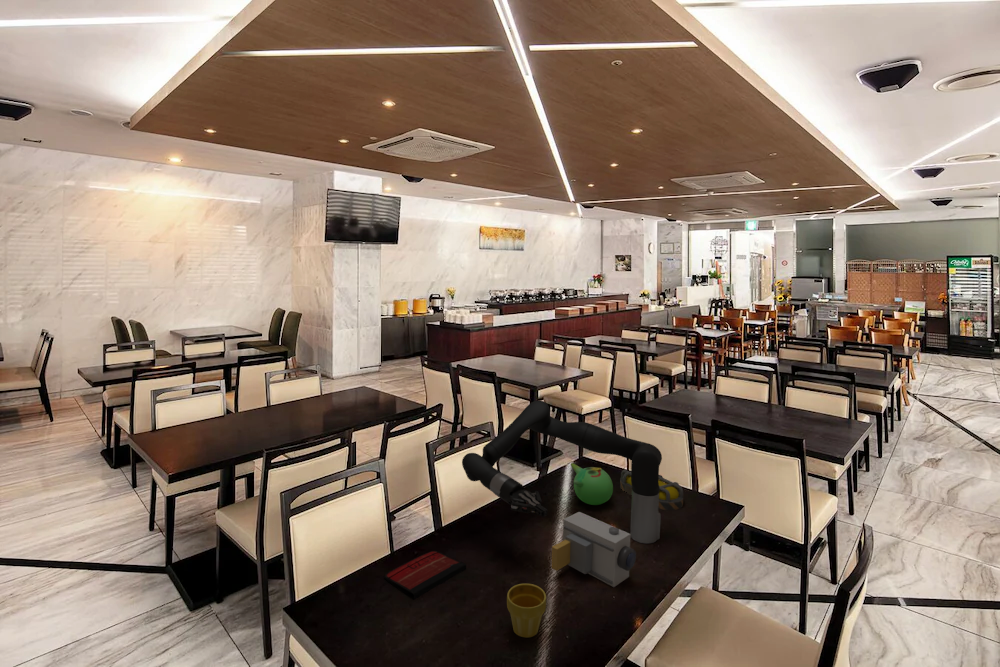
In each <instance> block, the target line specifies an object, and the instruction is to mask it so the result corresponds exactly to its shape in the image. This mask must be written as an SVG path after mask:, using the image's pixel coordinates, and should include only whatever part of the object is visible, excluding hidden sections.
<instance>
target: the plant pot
mask: <svg viewBox="0 0 1000 667" xmlns="http://www.w3.org/2000/svg"><path fill="white" fill-rule="evenodd" d="M546 607H547V593H546V592H545V591H544V590H543V589H542V588H541V587H540V586H538V585H536V584H532V583H519V584H515V585H513V586H512V587H510V589H509V590H508V591H507V594H506V608H507V610H508V612H509V614H510V617H511V618H510V620H511V624H512V628H513V629H512V630H513V632H514V633H515V634H516V636H518V637H522V638H532V637H535V636H536V635H537V634H538V632H539V630H540V625H541V620H542V616H543V614H544V613H545V611H546V610H547V608H546Z"/></svg>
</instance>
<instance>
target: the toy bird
mask: <svg viewBox="0 0 1000 667" xmlns="http://www.w3.org/2000/svg"><path fill="white" fill-rule="evenodd" d="M570 466H571V468H572V469H573V471H574V472H575V474H576V475H575V476H574V479H573V489H574V492H575V495H576V496H577V498H578V499H579V500H580V501H581V502H583V503H584V504H587V505H590V506H591V505H592V506H599V505H600V506H601V505H602V504H605V503H606V502H608V501H609V500H610V499H611V497H612V495H613V492H614V485H613V481H612V479H611V477H610V475H609V474H608V473H607V472H606V471H605V470H604V469H603V468H601V467H594V466H590V467H585V468H582V467H581V466H578V465H577V464H575V463H573V462H571V463H570Z"/></svg>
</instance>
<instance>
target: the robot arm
mask: <svg viewBox="0 0 1000 667" xmlns="http://www.w3.org/2000/svg"><path fill="white" fill-rule="evenodd" d="M529 429H530V430H532V431H533V432H536V433H538V434H543V435H546V436H550V437H553V438H556V439H560V440H562V441H564V442H567V443H570V444H573V445H576V446H578V447H580V448H582V449H585V450H588V451H590V452H592V453H597V454H603V455H613V456H619V457H622V458H625V459H628V460H630V461H631V466H630V467H631V468H630V471H631V483H632V496H631V502H630V503H631V505H630V506H631V507H630V508H631V509H630V530H629V531H630V533H629V534H631V535H630V539H632V540H633V541H635V542H637V543H640V544H653V543H655V542H656V541H658V540H660V535H661V519H662V517H661V512H659V509H658V506H659V483H658V480H659V475H660V473H659V472H660V465H661V463H662V459H663V457H662V453H661V451H660V449H659V448H658V447H657V446H655V445H653V444H651V443H649V442H648V443H647V442H644V441H641V440H636V439H632V438H628V437H626V436H623V435H620V434H619V433H615V432H613V431H610V430H608V429H605V428H603V427H600V426H597V425H595V424H592V423H589V422H586V421H574V422H573V421H571V422H568V421H567V422H566V421H562V420H559V419H557V418H554V417H553V416H551V410H550V407H549V404H548V403H546V402H545V401H543V400H534V401H532V402H531V403H529V404H528V405H527V406H526V407H525V408H524V409H523V411H522V412H521V413H519V415H518V416H517V417H516V418H515V419H514V420H513V421H512V422H511V423H510V424H509V425H508V426H507V427H506V428H505V429H504V430H503V431H501V432H500V433H499V434H498V435H496V436H495V437H494V438H493V439H492V440H491V441H489V442H487V443H486V444H485V445H484V446H483V448H482V455H480V454H479V453H476V452H469V453H466V454H465V455H464V456H463V458H462V460H461V465H462V468H463V470H464V472H465V475H466V477H467V479H468V480H470V482H480V483H481V485H482V486H483V487H485V488H486V489H487V490H489V491H491V492H492V493H493V494H494V495H495V496H497V498H500V499H501V500H503V501H504V502H506V503H507V504H508V505H510V507H511V508H510V510H511V511H514V512H519V513H525V514H530V513H536V515H538V516H540V517H542V518H544V517H547V516H548V512H549V510H548V509H547V508H546V507H544V506H543V505H542V498H541V494H540V491H538V490H535V491H534V492H531V491H530V490H527V489H525V488H524V485H523V484H522V483H521V482H518V481H517V480H516V479H514V478H513V477H511V476H509V475H508V474H506V473H504V472H501V471H500V470H498V469H496V468H495V467H494V466H495V465H496V463H497V462H498V461H499V460H500V459H502V458H503V457H504V456H505V455H507V454H508V453H509V451H511V450H512V449H513V447H514V446H515V445H516V444H517V443H518V441H519V440H520V438H521V437H522V436H523V435H524V433H526V432H527V430H529Z"/></svg>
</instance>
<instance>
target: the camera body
mask: <svg viewBox="0 0 1000 667" xmlns="http://www.w3.org/2000/svg"><path fill="white" fill-rule="evenodd" d="M562 520H563V523H562V524H563V525H562V526H563V528H562V530H563V531H562V532H563V533H562V535H563V537H562V541H564V540H566V536H568V535H569V534H571V533H573V534H575V535H577V536H579V537H581V538H583V539H585V540H588V541H590V542H592V570H591V571H590V572H588V573H587V574H588V575H589V576H592V577H594V578H596V579H598V580H600V581H601V582H603V583H605V584H607V585H608V586H611V587H613V588H615V587H616V586H618V585H619V584H621V583H622V582H623V581H625V580H627V579H628V578H629V577H630V570H631V569H633V567H634V565H635V564H636V560H637V551H636V550H635V549H634V548H632V547H631V536H630V535H631V534H630V533H629V532H627V531H624V530H623V529H620V528H618V527H616V526H613V525H611V524H609V523H606V522H604V521H602V520H600V519H599V520H598V519H597V518H594V517H592V516H590V515H588V514H585V513H583V512H581V511H578V512H576V513H574V514H572V515H570V516H567V517H565V518H563V519H562Z"/></svg>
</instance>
